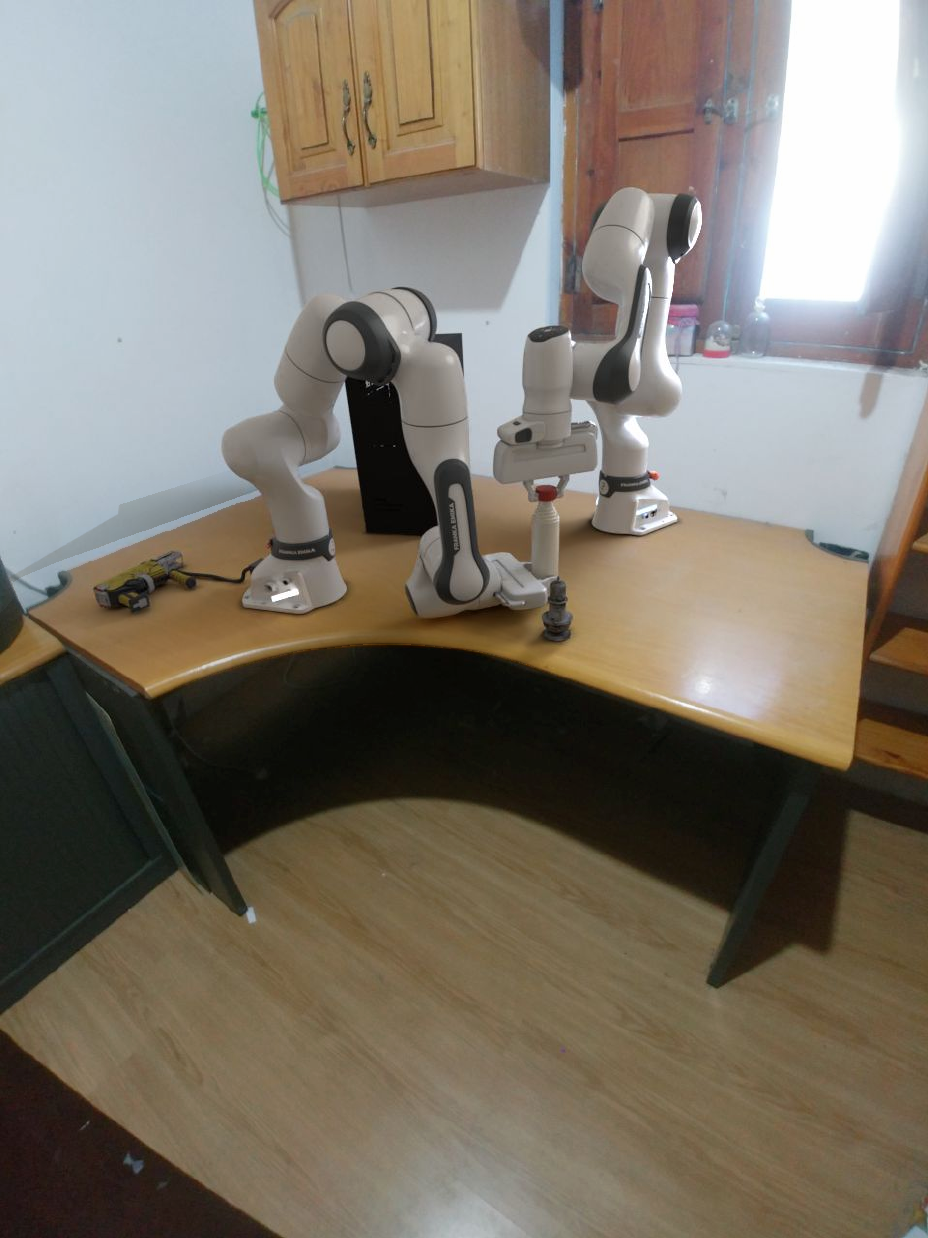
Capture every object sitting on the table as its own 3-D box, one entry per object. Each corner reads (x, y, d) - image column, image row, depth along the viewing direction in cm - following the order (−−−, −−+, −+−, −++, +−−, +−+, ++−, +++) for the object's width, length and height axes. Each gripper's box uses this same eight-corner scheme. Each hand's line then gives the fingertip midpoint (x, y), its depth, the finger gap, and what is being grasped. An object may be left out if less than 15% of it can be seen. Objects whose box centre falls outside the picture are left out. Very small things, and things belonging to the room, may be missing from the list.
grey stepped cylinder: (571, 642, 110) (574, 584, 104) (539, 640, 111) (540, 582, 105) (573, 626, 115) (576, 569, 109) (542, 624, 116) (543, 568, 110)
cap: (530, 497, 117) (531, 487, 116) (547, 493, 119) (547, 483, 118) (543, 503, 114) (543, 492, 113) (560, 498, 116) (560, 488, 115)
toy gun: (220, 558, 145) (169, 547, 149) (142, 600, 125) (86, 587, 129) (223, 576, 147) (173, 565, 151) (147, 620, 127) (92, 606, 131)
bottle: (541, 604, 124) (542, 497, 112) (525, 594, 128) (525, 490, 117) (562, 597, 126) (566, 491, 115) (547, 587, 130) (549, 484, 119)
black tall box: (438, 535, 159) (423, 349, 136) (366, 532, 163) (340, 351, 140) (469, 489, 190) (461, 332, 168) (408, 488, 195) (393, 335, 172)
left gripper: (504, 593, 111) (572, 579, 114) (468, 552, 128) (528, 541, 131) (505, 622, 114) (571, 608, 118) (470, 579, 131) (528, 567, 135)
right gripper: (590, 416, 115) (586, 487, 122) (488, 429, 110) (491, 501, 117) (606, 422, 109) (601, 496, 116) (500, 436, 105) (502, 512, 111)
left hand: (548, 572), depth 125 cm, fingers closed on bottle, 5 cm apart
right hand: (545, 499), depth 116 cm, fingers closed on cap, 4 cm apart
